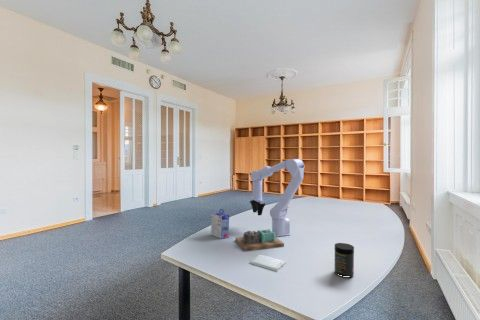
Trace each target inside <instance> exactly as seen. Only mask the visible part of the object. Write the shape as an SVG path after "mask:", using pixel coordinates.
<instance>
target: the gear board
mask: <svg viewBox="0 0 480 320" xmlns="http://www.w3.org/2000/svg"><path fill="white" fill-rule="evenodd" d="M263 230H264V233H269V231H268V229H263ZM235 242H236V243H237V244H238V245H239V246H240V247H241V248H242V249H243V251H245V252H250V251H258V250H267V249H274V248H283V247H285V242H284V241H282V240H280V239H278V237H275V241H267V242H264V243H263V242H262V241H261V240H260V233H259V232H257V231H256V230H247V231H245V232H243V236H238V237H235Z"/></svg>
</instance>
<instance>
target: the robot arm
mask: <svg viewBox="0 0 480 320" xmlns="http://www.w3.org/2000/svg"><path fill="white" fill-rule="evenodd" d="M283 169H284V170H286V171H288V173H289V174H290V175H291V180H290V181H289V183H288V185H287V187H286V188H285V190H284V191H283V193H282V195H281V197H280V199H279V201H278V202H276V204H274V206H273V207H272V208H271V209H270V210H269V215H270V217H271V231H272V232H274V233H275V237H276V238H278V237H282V236H283V237H284V236H290V235H291V228H290V227H291V224H290V223H291V222H290V219H289V218H288V217H286V215H287V214H288V209H289V205H290V203H291V201H292V199H293V197H294V196H295V193H296V192H297V191H298V189H299V187H300V186H301V184H302V182H303V180H304V172H305V171H304V170H305V164H304V161H303V160H302V159H301V158H290V159H287V160H283V161H281V162H279V163H277V164H275V165H273V166H270V165H265V166H263V167H262V168H258V169H257V170H253V171H252V172H251V173H250V179H251V180H252V196H251V198H250V200H249V203H250V205H251V209H252V212H253V213H257V216H262V214H263V211H264V208H265V206H266V203H265V201H264V199H263V180H264V179H267V178H269V177H271V176H273V174H274V172H278V171H281V170H283Z"/></svg>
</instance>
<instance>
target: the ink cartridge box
mask: <svg viewBox="0 0 480 320" xmlns="http://www.w3.org/2000/svg"><path fill="white" fill-rule="evenodd" d="M224 212H225V209H223V208H219V211H218V212H211V220H210V221H211V223H210V224H211V226H210V230H211V231H210V232H211V233H210V235H211V236H214V237H216V238H218V239H221V240H222V239H226V238H229V237H230V235H229V234H230V214H228V213H224Z"/></svg>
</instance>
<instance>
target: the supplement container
mask: <svg viewBox="0 0 480 320" xmlns="http://www.w3.org/2000/svg"><path fill="white" fill-rule="evenodd" d="M333 265H334V268H333V270H334V273H335V272H336V273H337V274H339V275H342V276H352V277H353V276H354V274H355V273H354V272H355V271H354V270H355V247H354V246H353V245H352V244H349V243H345V242H337V243H335V244H334V264H333ZM336 273H335V274H336ZM337 274H336V275H337ZM339 275H338V276H339Z"/></svg>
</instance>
